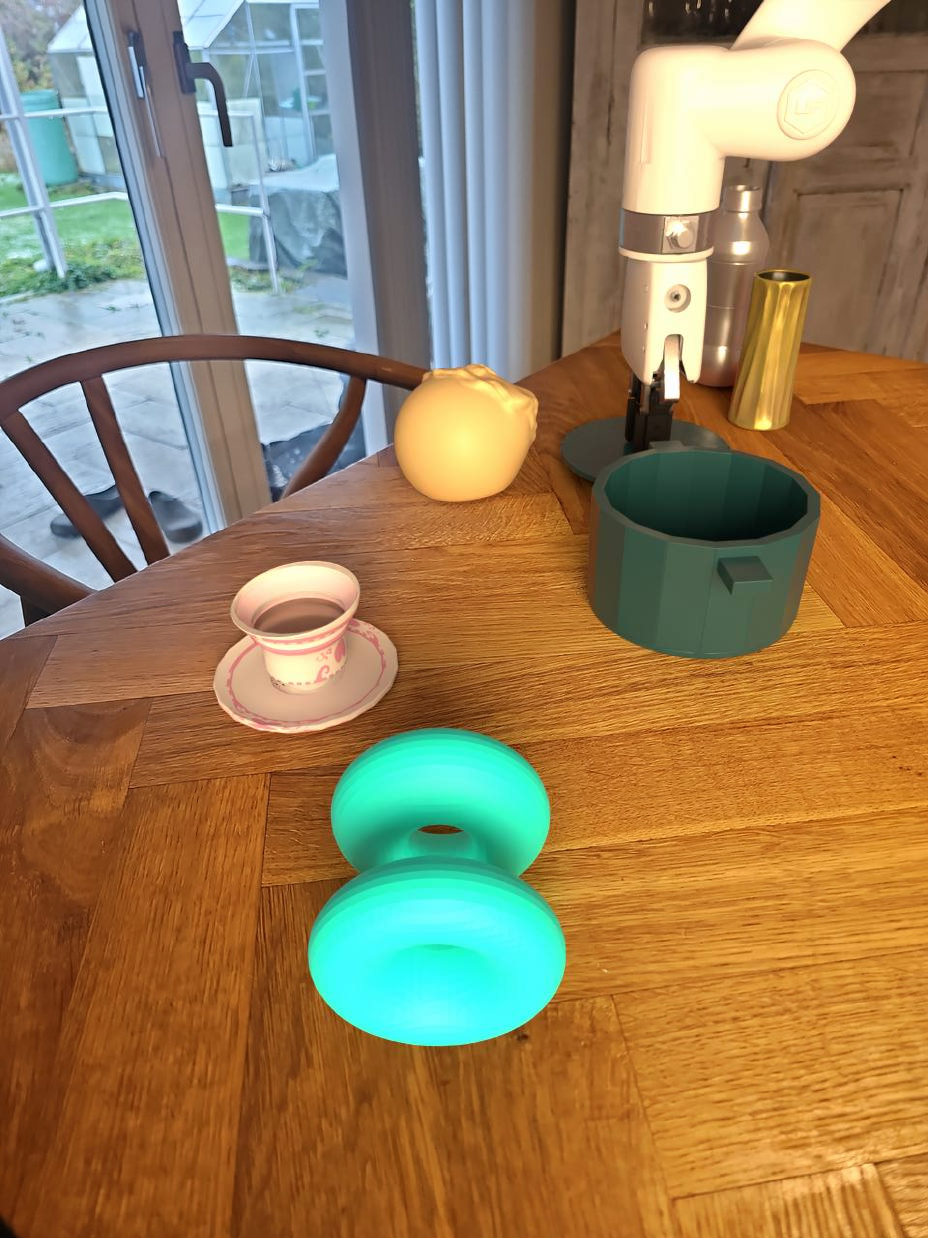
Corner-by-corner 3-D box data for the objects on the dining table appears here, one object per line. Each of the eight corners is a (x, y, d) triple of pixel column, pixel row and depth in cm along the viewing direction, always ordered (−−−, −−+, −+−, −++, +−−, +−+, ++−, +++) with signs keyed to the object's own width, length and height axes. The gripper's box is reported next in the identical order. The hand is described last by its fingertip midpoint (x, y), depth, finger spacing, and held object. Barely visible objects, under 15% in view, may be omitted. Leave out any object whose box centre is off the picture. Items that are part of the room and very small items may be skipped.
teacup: (348, 755, 49) (335, 673, 46) (176, 712, 53) (151, 633, 49) (427, 638, 58) (421, 561, 55) (275, 608, 62) (260, 534, 58)
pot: (742, 524, 70) (759, 426, 65) (847, 677, 53) (881, 562, 49) (566, 535, 69) (570, 437, 64) (618, 693, 53) (629, 578, 48)
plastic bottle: (698, 369, 100) (723, 180, 88) (754, 380, 97) (788, 185, 85) (675, 386, 96) (698, 190, 84) (733, 398, 92) (765, 195, 81)
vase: (746, 404, 91) (770, 263, 82) (800, 419, 87) (830, 273, 79) (715, 421, 87) (736, 276, 79) (769, 437, 84) (798, 286, 75)
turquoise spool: (321, 1062, 35) (283, 913, 29) (347, 864, 43) (322, 716, 37) (564, 1058, 35) (575, 906, 29) (544, 859, 43) (550, 710, 37)
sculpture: (554, 478, 78) (557, 362, 72) (471, 530, 70) (467, 405, 64) (458, 448, 84) (454, 338, 78) (373, 493, 77) (361, 376, 70)
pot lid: (702, 422, 86) (709, 367, 82) (755, 493, 73) (766, 430, 70) (548, 431, 85) (550, 375, 82) (575, 503, 72) (578, 441, 69)
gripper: (747, 252, 61) (712, 483, 72) (685, 211, 74) (663, 411, 85) (644, 257, 61) (624, 488, 72) (600, 215, 74) (589, 416, 85)
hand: (645, 445), depth 78 cm, fingers closed on pot lid, 2 cm apart
